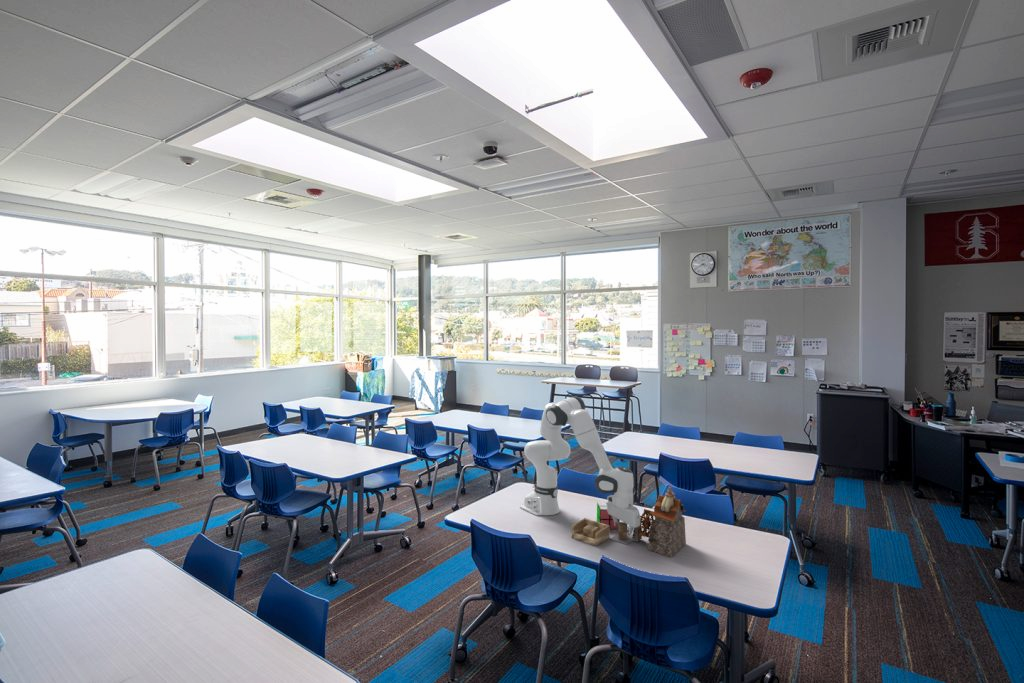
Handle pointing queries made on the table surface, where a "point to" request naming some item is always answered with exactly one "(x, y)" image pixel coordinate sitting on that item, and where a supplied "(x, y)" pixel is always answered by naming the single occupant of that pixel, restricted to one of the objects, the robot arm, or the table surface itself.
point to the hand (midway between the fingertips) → (623, 529)
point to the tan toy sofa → (590, 532)
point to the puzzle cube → (605, 516)
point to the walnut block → (622, 531)
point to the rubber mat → (626, 542)
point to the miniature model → (663, 525)
